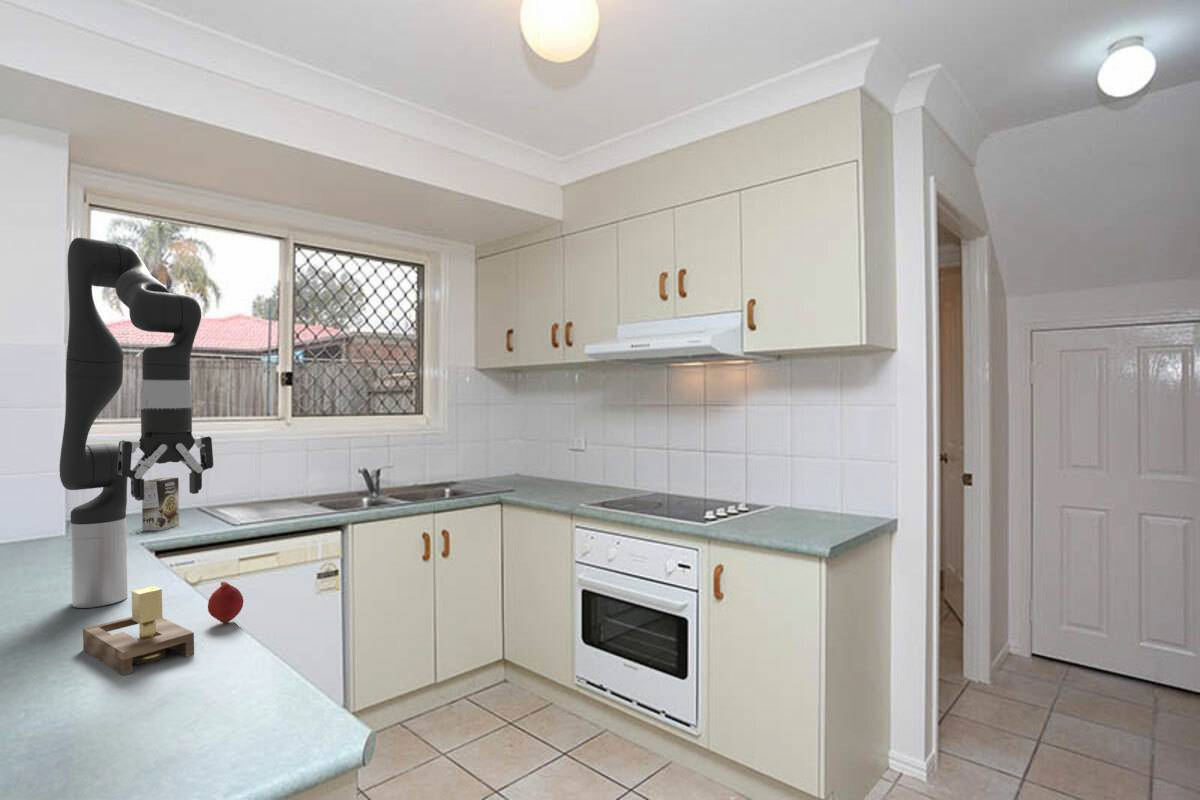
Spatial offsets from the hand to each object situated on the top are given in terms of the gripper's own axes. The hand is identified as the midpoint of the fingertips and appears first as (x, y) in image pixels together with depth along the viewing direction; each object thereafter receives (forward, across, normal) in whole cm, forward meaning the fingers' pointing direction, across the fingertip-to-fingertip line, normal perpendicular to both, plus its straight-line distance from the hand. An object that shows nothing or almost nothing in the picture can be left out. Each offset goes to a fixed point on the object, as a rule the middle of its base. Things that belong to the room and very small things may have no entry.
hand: (167, 496), depth 115 cm
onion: (+26, -9, +1) cm, 27 cm away
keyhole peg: (+25, +6, +8) cm, 27 cm away
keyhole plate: (+25, +6, +3) cm, 26 cm away
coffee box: (+29, -37, -111) cm, 121 cm away
